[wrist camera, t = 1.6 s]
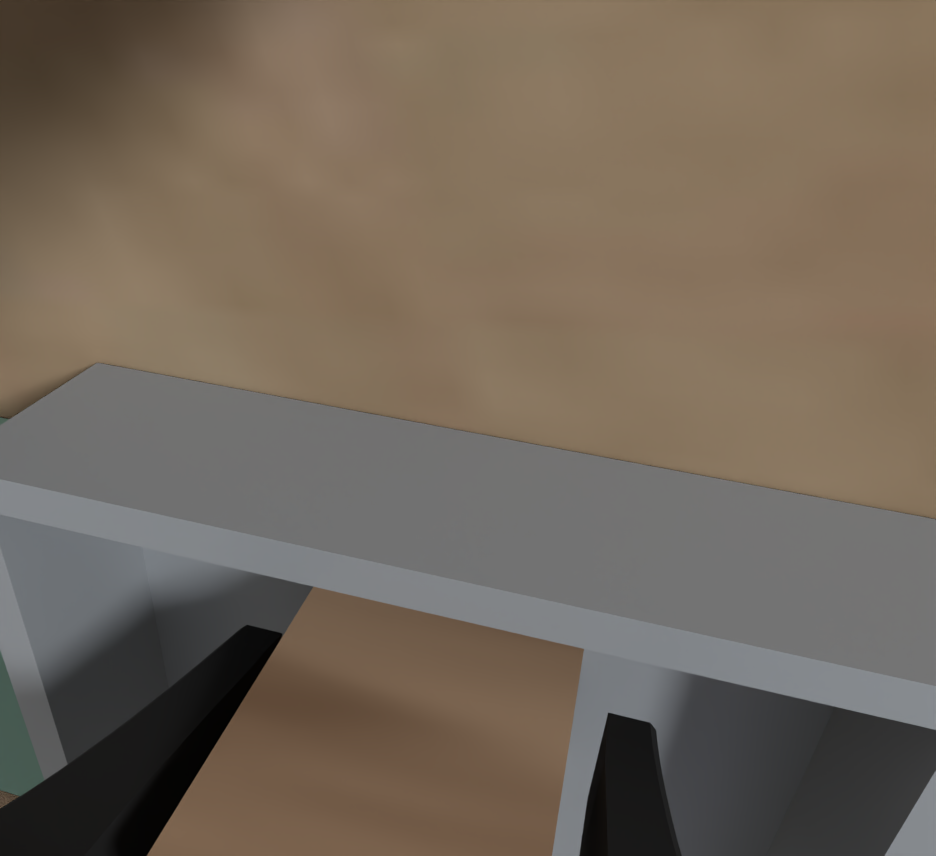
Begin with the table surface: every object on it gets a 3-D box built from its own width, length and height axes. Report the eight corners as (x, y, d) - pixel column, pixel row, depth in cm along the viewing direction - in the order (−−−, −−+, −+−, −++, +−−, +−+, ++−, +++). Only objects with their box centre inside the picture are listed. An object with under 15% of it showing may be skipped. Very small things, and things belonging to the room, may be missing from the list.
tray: (694, 1050, 19) (694, 1230, 16) (202, 896, 21) (130, 1032, 18) (952, 522, 10) (1045, 710, 8) (97, 362, 13) (-63, 465, 10)
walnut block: (559, 754, 14) (484, 1211, 9) (349, 700, 15) (163, 1095, 9) (593, 586, 12) (521, 1054, 7) (346, 532, 12) (107, 919, 7)
